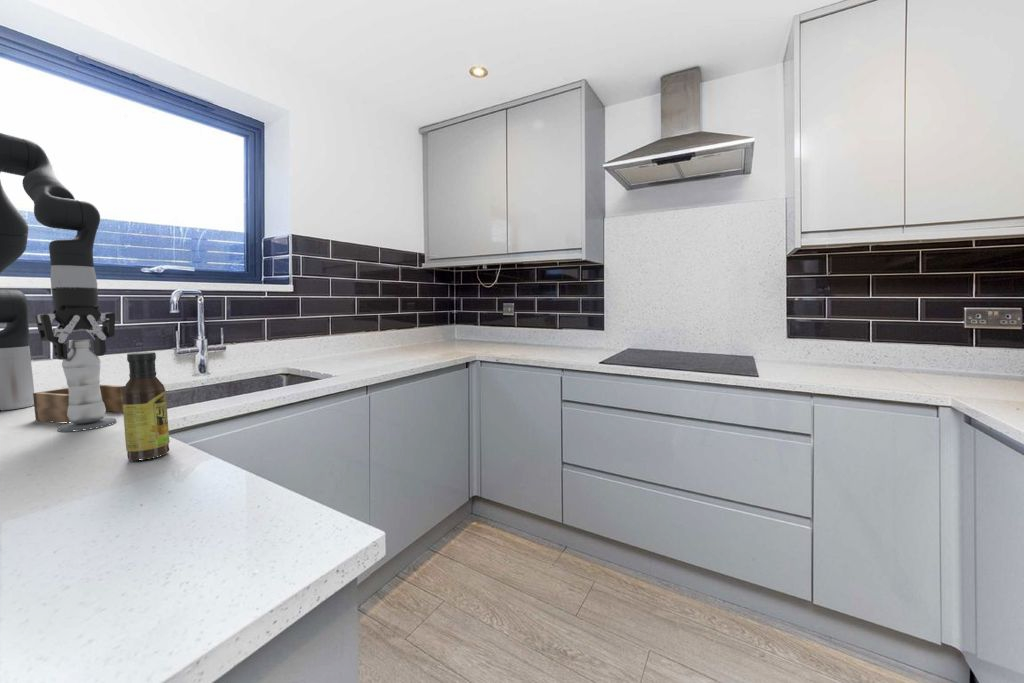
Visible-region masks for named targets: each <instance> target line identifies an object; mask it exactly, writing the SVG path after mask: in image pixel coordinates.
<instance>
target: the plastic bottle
mask: <svg viewBox="0 0 1024 683" xmlns="http://www.w3.org/2000/svg"><path fill="white" fill-rule="evenodd" d="M91 348H92V340H91V339H88V338H87V339H70V340H68V349H70V351H69V352H67V355H68V359H64V360H62V362H61V366H62V368H63V369H62V370H63V373H64V376H65V379H66V385H67V386H68V387H67V388H68V391H69V406H68V410H67V416H68V419H69V421H70V422H71V423H73V424H88V423H92V422H95V421H99V420H102V419H103V418H106V413H107V411H106V408H105V405H104V402H103V400H102V395H101V391H100V385H101V384H100V382H101V381H100V380H101V379H100V375H101V374H100V373H101V359H100V356H97V355H96V354H95V353H94V350H92V349H91Z"/></svg>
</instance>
